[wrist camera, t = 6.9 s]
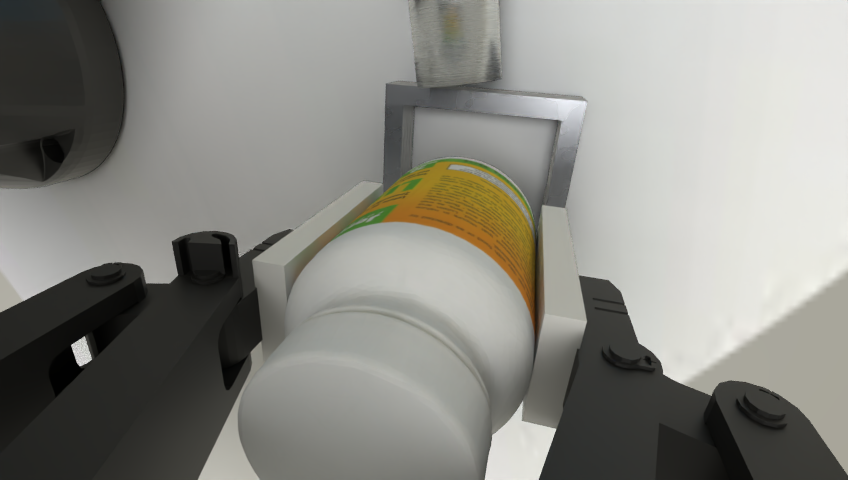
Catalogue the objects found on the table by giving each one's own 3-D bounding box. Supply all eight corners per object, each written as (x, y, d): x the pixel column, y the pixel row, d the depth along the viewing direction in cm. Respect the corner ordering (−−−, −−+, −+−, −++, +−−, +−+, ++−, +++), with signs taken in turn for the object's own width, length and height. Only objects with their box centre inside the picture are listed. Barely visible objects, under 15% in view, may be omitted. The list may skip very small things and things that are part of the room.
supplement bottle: (432, 120, 14) (258, 230, 5) (570, 213, 14) (625, 473, 5) (360, 243, 16) (158, 458, 8) (477, 321, 16) (411, 622, 8)
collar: (393, 240, 23) (381, 256, 22) (399, 80, 20) (386, 83, 18) (547, 265, 22) (548, 284, 20) (582, 96, 18) (587, 101, 17)
